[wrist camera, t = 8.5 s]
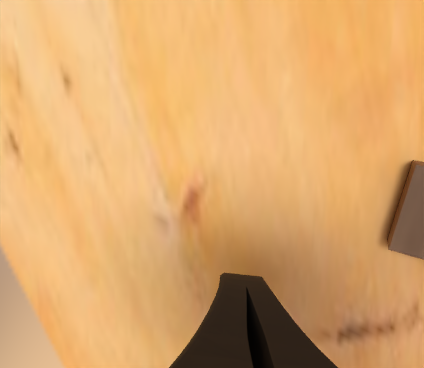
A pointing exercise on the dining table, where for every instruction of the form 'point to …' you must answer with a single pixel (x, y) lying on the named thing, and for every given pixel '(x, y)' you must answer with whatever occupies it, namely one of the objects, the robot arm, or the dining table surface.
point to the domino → (410, 216)
